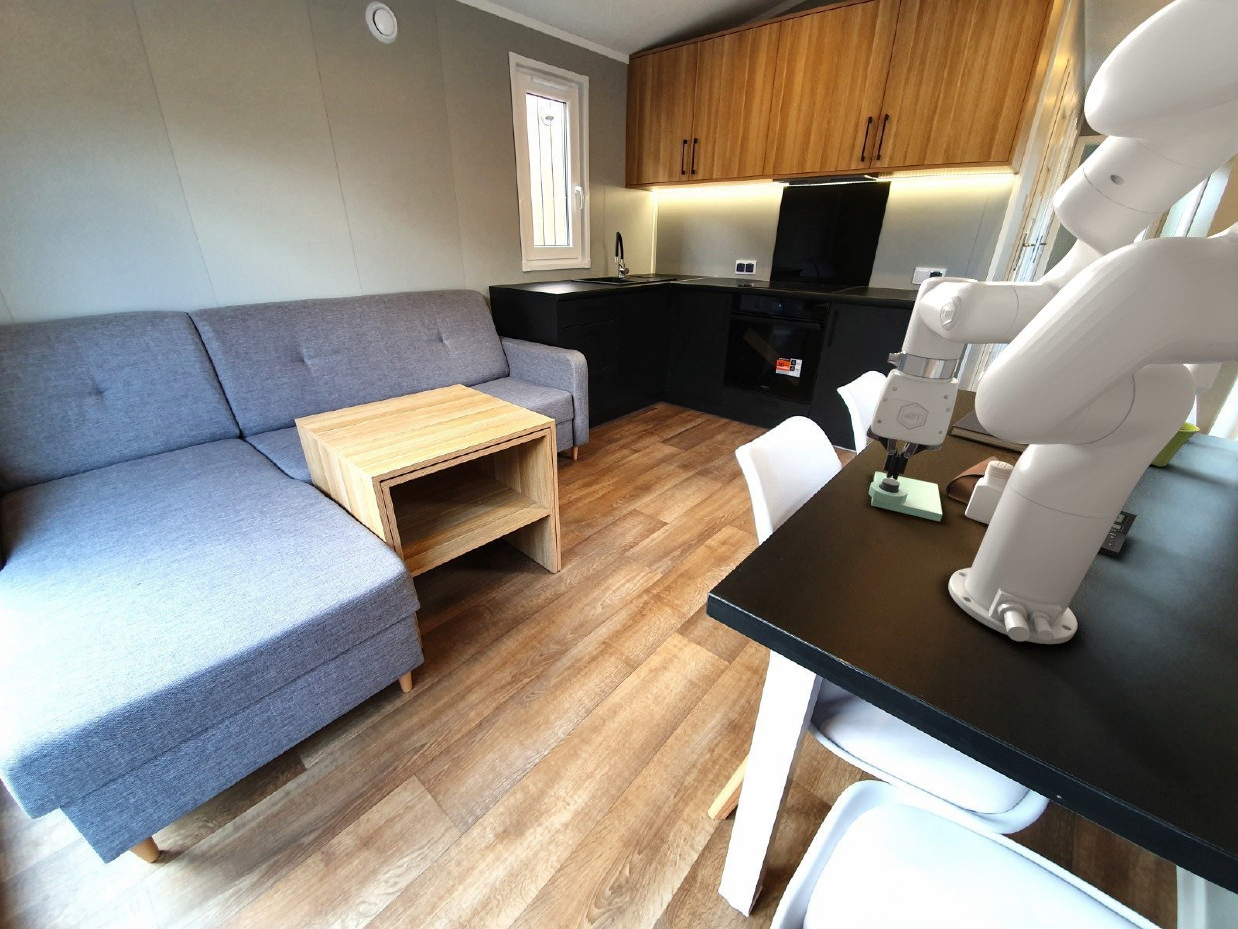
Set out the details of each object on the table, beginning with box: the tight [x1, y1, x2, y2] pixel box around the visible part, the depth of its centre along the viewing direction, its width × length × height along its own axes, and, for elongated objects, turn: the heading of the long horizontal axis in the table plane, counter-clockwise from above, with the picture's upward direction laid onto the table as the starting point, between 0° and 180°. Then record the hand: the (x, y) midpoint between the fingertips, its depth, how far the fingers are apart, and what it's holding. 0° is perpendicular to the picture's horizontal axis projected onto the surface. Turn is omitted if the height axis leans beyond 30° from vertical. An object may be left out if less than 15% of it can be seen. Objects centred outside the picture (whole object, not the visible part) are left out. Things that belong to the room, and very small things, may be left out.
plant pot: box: [1150, 421, 1201, 467], centre depth 101 cm, size 9×9×9 cm
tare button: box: [880, 478, 900, 493], centre depth 81 cm, size 3×3×2 cm
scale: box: [868, 470, 943, 522], centre depth 84 cm, size 13×11×3 cm
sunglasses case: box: [945, 455, 1000, 505], centre depth 88 cm, size 18×7×7 cm, turn 128°
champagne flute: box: [1184, 363, 1223, 396], centre depth 112 cm, size 7×7×24 cm
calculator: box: [1098, 510, 1137, 558], centre depth 76 cm, size 9×12×3 cm
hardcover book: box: [949, 407, 1030, 455], centre depth 115 cm, size 16×23×2 cm
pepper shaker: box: [964, 460, 1014, 525], centre depth 77 cm, size 4×4×10 cm
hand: (891, 475), depth 81 cm, fingers closed
